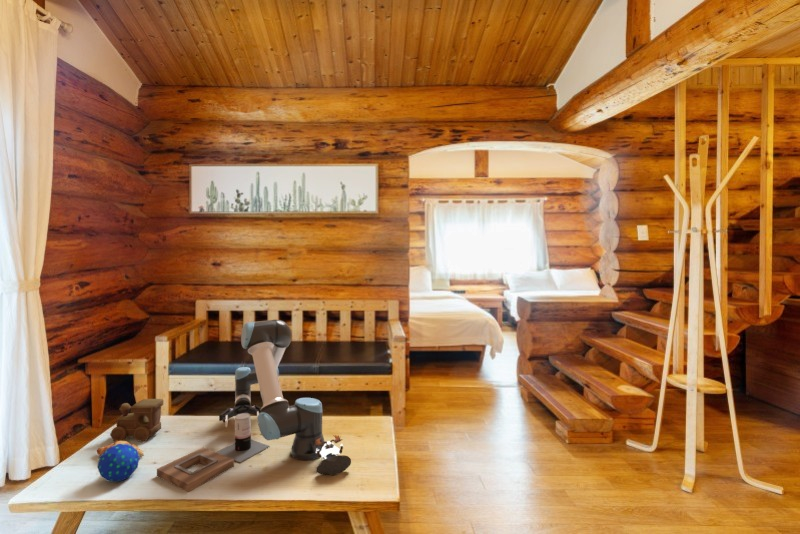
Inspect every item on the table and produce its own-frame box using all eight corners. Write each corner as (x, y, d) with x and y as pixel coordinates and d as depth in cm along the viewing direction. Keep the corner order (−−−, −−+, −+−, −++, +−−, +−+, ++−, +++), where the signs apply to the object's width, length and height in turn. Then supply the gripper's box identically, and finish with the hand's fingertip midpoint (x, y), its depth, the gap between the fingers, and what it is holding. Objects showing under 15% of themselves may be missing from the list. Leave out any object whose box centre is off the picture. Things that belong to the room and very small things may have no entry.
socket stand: (233, 466, 167) (233, 458, 167) (188, 491, 150) (187, 483, 149) (203, 453, 177) (203, 446, 177) (156, 476, 159) (156, 467, 159)
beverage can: (232, 449, 180) (232, 416, 180) (246, 443, 185) (246, 411, 184) (239, 454, 176) (238, 420, 175) (253, 448, 181) (253, 415, 180)
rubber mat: (269, 447, 183) (269, 445, 183) (240, 463, 170) (240, 462, 170) (245, 438, 191) (245, 437, 191) (215, 453, 177) (215, 452, 177)
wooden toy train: (165, 431, 198) (164, 397, 197) (151, 442, 186) (151, 407, 186) (123, 431, 197) (122, 398, 196) (107, 442, 186) (106, 407, 185)
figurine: (316, 464, 157) (311, 436, 174) (317, 485, 159) (312, 455, 176) (352, 457, 161) (344, 430, 178) (352, 477, 164) (344, 448, 180)
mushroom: (114, 445, 168) (131, 430, 162) (136, 471, 168) (153, 457, 162) (79, 469, 155) (96, 454, 149) (103, 498, 155) (121, 484, 149)
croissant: (147, 463, 176) (153, 442, 179) (132, 463, 166) (139, 442, 170) (102, 459, 177) (108, 439, 181) (84, 459, 168) (92, 438, 172)
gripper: (268, 408, 209) (271, 425, 189) (215, 415, 200) (212, 433, 180) (268, 394, 209) (270, 410, 189) (215, 400, 200) (212, 417, 180)
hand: (242, 421), depth 185 cm, fingers open, 13 cm apart
